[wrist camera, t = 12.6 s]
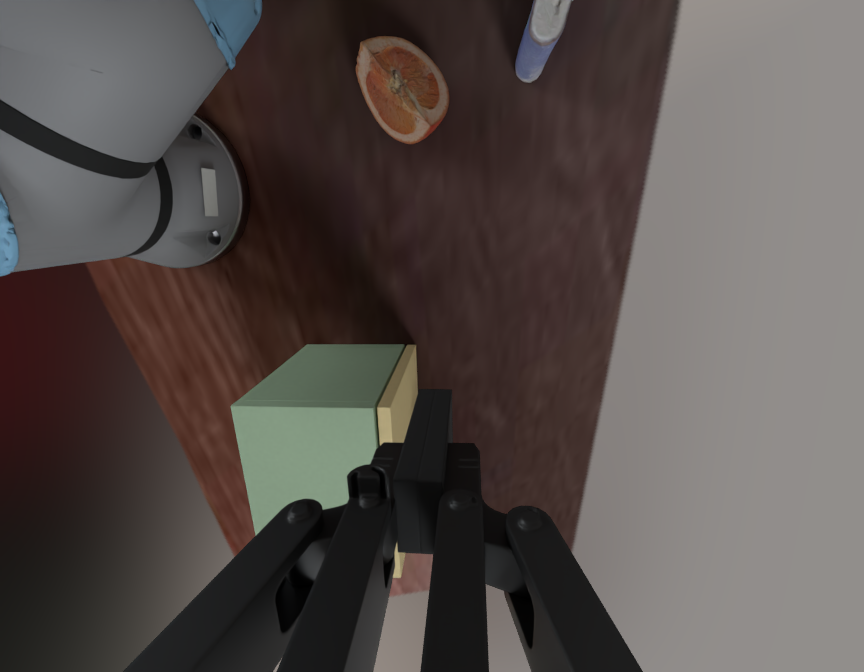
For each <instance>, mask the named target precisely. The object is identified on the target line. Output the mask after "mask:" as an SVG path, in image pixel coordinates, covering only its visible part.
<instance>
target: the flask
mask: <svg viewBox="0 0 864 672" xmlns="http://www.w3.org/2000/svg"><path fill="white" fill-rule="evenodd" d="M572 1H573V0H534V1H533V5H532V10H531V13H530V16H529V19H528V22H527V25H526V27H525V30H524V34H523V37H522V41H521V44H520V47H519V50H518V54H517V59H516V63H515V70H516V75H517V76H518V78H519V79H520V80H522V81H523V82H527V83H531V82H533V81H535V80H536V79H537V78H538V77H539V75H540V74H541V73H542V70H543V68H544V65H545V63H546V61H547V60H548V57H549V55H550V53H551V51H552V50H553V48H554V46H555V44H556V42H557V41H558V39H559V37H560V36H561V34H562V32H563V30H564V28H565V25H566V21H567V17H568V12H569V9H570V6H571V2H572Z"/></svg>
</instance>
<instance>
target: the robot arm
mask: <svg viewBox="0 0 864 672" xmlns="http://www.w3.org/2000/svg"><path fill="white" fill-rule="evenodd" d="M261 13H262V0H0V276H4V275H7V274H10V272H16V271H24V270H30V269H38V268H45V267H52V266H60V265H67V264H74V263H83V262H90V261H98V260H105V259H113V258H119V257H130V258H134V259H138V260H142V261H146V262H150V263H154V264H158V265H161V266H165V267H171V268H188V267H194V266H199V265H204V264H208V263H211V262H213V261H216V260H218V259H219V258H221V257H223V256H224V255H225V254H227V253H228V252H229V251H230V250H231V249H232V248H233V247H234V246H235V245H236V243H237V242H238V240H239V239H240V237H241V235H242V233H243V231H244V229H245V226H246V223H247V219H248V213H249V188H248V183H247V178H246V175H245V171H244V169H243V166H242V163H241V161H240V159H239V157H238V155H237V153H236V152H235V150H234V148H233V147H232V145H231V144H230V143H229V141H228V140H227V139H226V138H225V136H224V135H223V134H222V133H221V132H220V131H219V130H218V129H217V128H216V127H215V126H214V125H212V124H211V123H210V122H208V121H207V120H206V119H204V118H203V117H201V116H199V115H197V114H195V112H196V111H197V109H198V108H199V107H200V105H201V104H202V103H203V101H204V100H205V99H206V97H207V96H208V95H209V93H210V92H211V91H212V89H213V88H214V87H215V85H216V84H217V83H218V81H219V80H220V79H221V77H222V76H223V75H224V74H225V72H226V71H227V70H228V68H230V69H231V70H232V69H233V67H234V66H235V63H236V62H235V57H236V56H237V54H238V53H239V51H240V50H241V48H242V47H243V45H244V44H245V42H246V40H247V39H248V37H249V36H250V34H251V33H252V31H253V30H254V28H255V27H256V25H257V24H258V22H259V20H260V17H261ZM347 484H348V493H349V500H348V502H347V503H346V504H344V505H341V506H338V507H334V508H329V509H324V510H323V509H322V505H321V504H320V503H319V502H318V501H316V500H314V499H301V500H296V501H294V502H292V503H289V504H288V505H286V506H285V507H284V508H283V509H281V510H280V511H279V512H278V514H277V515H276V516H275V517H274V518H273V519H272V520H271V521H270V522H269V523H268V524H267V525H266V526H265V527H264V528H263V529H262V530H261V531H260V532H259V533H258V534H257V535H256V536H255V537H254V538H253V539H252V540H251V541H250V542H249V543H248V544H247V545H246V546H245V547H244V548H243V549H242V550H241V551H240V552H239V553H238V554H237V555H236V556H235V557H234V558H233V560H232V561H231V562H230V563H229V564H228V565H227V566H226V567H225V568H224V569H223V570H222V571H221V572H220V573H219V574H218V575H217V576H216V577H215V578H214V579H213V580H212V581H211V582H210V583H209V584H208V585H207V586H206V587H205V588H204V589H203V590H202V591H201V592H200V593H199V595H197V596H196V597H195V598H194V599H193V600H192V601H191V603H189V605H188V606H187V607H186V608H185V609H184V610H183V611H182V612H181V613H180V614H179V615H178V616H177V617H176V618H175V619H174V620H173V621H172V622H171V623H170V624H169V625H168V626H167V627H166V628H165V629H164V630H163V631H162V632H161V633H160V634H159V635H158V636H157V637H156V638H155V639H154V640H153V641H152V642H151V643H150V644H149V645H148V647H147V648H145V650H144V651H143V652H142V653H141V654H140V655H139V656H138V657H137V658H136V659H135V660H134V661H133V662H132V663H131V664H130V665H129V666H128V667H127V668H126V669H125V670H124V671H123V672H273V670H274V669H275V667H276V666H277V664H278V663H279V661H280V660H281V658H282V660H281V662H280V665H279V668H278V670H277V672H373V670H374V665H375V661H376V655H377V651H378V646H379V641H380V637H381V632H382V626H383V621H384V617H385V613H386V608H387V603H388V598H389V593H390V589H391V584H392V579H393V574H394V569H395V554H394V552H395V548H396V543H397V549H398V552H400V553H420V554H433V563H432V572H431V581H430V590H429V599H428V609H427V618H426V627H425V636H424V645H423V654H422V664H421V672H489V664H488V663H489V662H488V636H487V611H486V585H485V584H487V585H490V586H493V587H495V588H498V589H501V590H503V591H504V594H505V598H506V601H507V604H508V607H509V609H510V612H511V615H512V618H513V621H514V624H515V626H516V629H517V632H518V635H519V638H520V641H521V643H522V646H523V649H524V652H525V654H526V657H527V660H528V663H529V666H530V669H531V672H643V671H642V670H641V668H640V666H639V665H638V663H637V661H636V660H635V658H634V656H633V655H632V653H631V651H630V650H629V648H628V646H627V644H626V643H625V641H624V639H623V638H622V636H621V634H620V633H619V631H618V629H617V628H616V626H615V624H614V623H613V621H612V620H611V618H610V616H609V615H608V613H607V612H606V609H605V608H604V606H603V604H602V603H601V601H600V599H599V598H598V596H597V594H596V593H595V591H594V589H593V588H592V586H591V584H590V583H589V581H588V579H587V578H586V576H585V574H584V573H583V571H582V569H581V568H580V566H579V564H578V563H577V561H576V559H575V558H574V556H573V554H572V553H571V551H570V549H569V548H568V546H567V544H566V543H565V541H564V539H563V538H562V536H561V534H560V532H559V531H558V529H557V527H556V526H555V524H554V522H553V521H552V519H551V518H550V517H549V516H548V515H547V513H546V512H544V511H542V510H540V509H539V508H535V507H532V506H519V507H515V508H513V509H512V510H510V511H509V512H508V514H504V513H501V512H498V511H495V510H493V509H492V508H490V507H489V506H488V505H487V504H485V502H484V501H483V499H482V495H481V475H480V451H479V450H478V448H477V447H476V446H475V444H474V443H453V434H452V390H444V389H419V391H418V395H417V398H416V402H415V405H414V409H413V412H412V416H411V419H410V422H409V426H408V429H407V433H406V436H405V440H404V443H395V442H384V443H383V444H382V445H380V446H379V447H378V448H377V449H376V451H375V453H374V456H373V460H372V461H371V463H370V464H367V465H362V466H359V467H356V468H355V469H353V470H352V471H350V473H349V474H348V475H347Z"/></svg>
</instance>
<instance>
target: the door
mask: <svg viewBox="0 0 864 672" xmlns="http://www.w3.org/2000/svg"><path fill="white" fill-rule="evenodd" d="M417 395H418V384H417V358H416V345H407V346H406V348H405V350H404V352H403V354H402V356H401V358H400V360H399V363H398V365H397V367H396V369H395V371H394V373H393V375H392V377H391V379H390V381H389V384H388V386H387V388H386V390H385V392H384V394H383V396H382V398H381V400H380V402H379V404H378V407H377V414H378V428H379V442H380V445H382V444H383V443H384V442H395V443H404V440H405V436H406V433H407V429H408V426H409V422H410V419H411V416H412V412H413V409H414V405H415V402H416V398H417ZM394 554H395V569H394V574H393V578H401V574H402V569H403V563H404V558H405V553H400V552H398V549H397V543H396V548H395V552H394Z"/></svg>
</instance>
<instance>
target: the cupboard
mask: <svg viewBox="0 0 864 672" xmlns="http://www.w3.org/2000/svg"><path fill="white" fill-rule="evenodd" d="M404 350H405V345H404V344H307V345H306V346H305V347H303V348H302V349H301V350H300V351H298V352H297V353H296V354H295V355H294V356H292V357H291V358H290V359H289V360H287V361H286V362H285V363H284V364H282V365H281V366H280V367H279V368H277V369H276V370H275V371H274V372H273V373H271V374H270V375H269V376H268V377H266V378H265V379H264V380H263V381H261V382H260V383H259V384H258V385H256V386H255V387H254V388H253V389H251V390H250V391H249V392H248V393H247V394H245V395H244V396H243V397H242V398H240V399H239V400H238V401H236V402H235V403H234V404H233V405H231V411H232V416H233V421H234V426H235V431H236V437H237V442H238V447H239V452H240V457H241V462H242V467H243V473H244V478H245V483H246V488H247V493H248V498H249V503H250V509H251V514H252V519H253V524H254V529H255V534H256V535H257V534H258V533H259V532H260V531H261V530H262V529H263V528H264V527H265V526H266V525H267V524H268V523H269V522H270V521H271V520H272V519H273V518H274V517H275V516H276V515H277V514H278V512H279V511H280V510H281V509H283V508H284V507H285V506H286V505H288V504H289V503H292V502H294V501H296V500H301V499H314V500H316V501H318V502H319V503H320V504H321V505H322V509H323V510H324V509H329V508H334V507H338V506H341V505H344V504H346V503H347V502H348V500H349V493H348V484H347V475H348V474H349V473H350V471H352V470H353V469H355V468H356V467H359V466H362V465H367V464H370V463H371V461H372V460H373V456H374V453H375V451H376V449H377V448H378V447H379V446H380V442H379V428H378V414H377V407H378V404H379V402H380V400H381V398H382V396H383V394H384V392H385V390H386V388H387V386H388V384H389V381H390V379H391V377H392V375H393V373H394V371H395V369H396V367H397V365H398V363H399V360H400V358H401V356H402V354H403V352H404Z"/></svg>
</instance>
